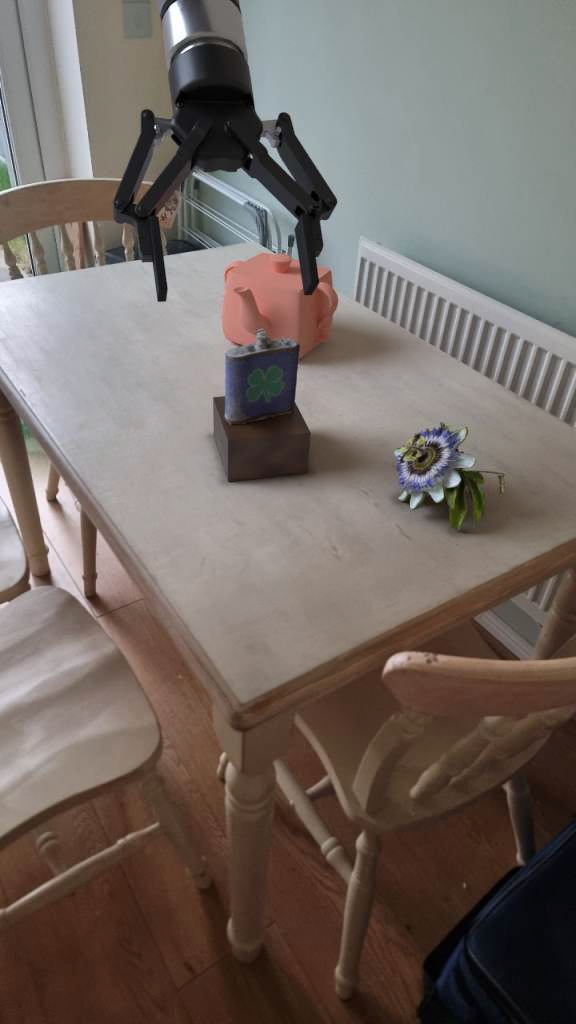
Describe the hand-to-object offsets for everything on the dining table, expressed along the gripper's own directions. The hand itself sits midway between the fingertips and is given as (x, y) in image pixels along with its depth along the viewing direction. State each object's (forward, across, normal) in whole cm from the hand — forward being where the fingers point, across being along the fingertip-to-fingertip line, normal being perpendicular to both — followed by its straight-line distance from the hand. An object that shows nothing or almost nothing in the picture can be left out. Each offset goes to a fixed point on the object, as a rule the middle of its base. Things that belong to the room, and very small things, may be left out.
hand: (239, 292), depth 62 cm
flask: (+6, -5, -23) cm, 24 cm away
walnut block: (+10, -5, -27) cm, 29 cm away
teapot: (-10, -14, -47) cm, 50 cm away
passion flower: (+20, -24, -18) cm, 36 cm away
